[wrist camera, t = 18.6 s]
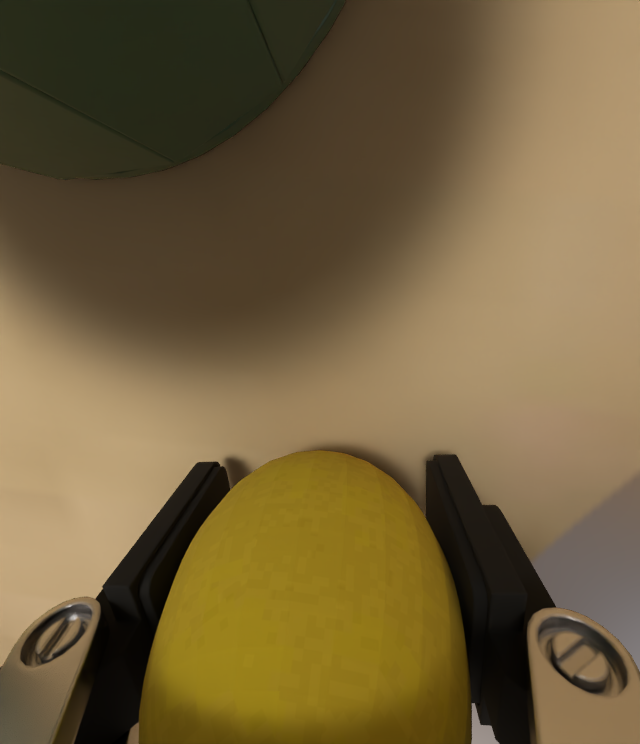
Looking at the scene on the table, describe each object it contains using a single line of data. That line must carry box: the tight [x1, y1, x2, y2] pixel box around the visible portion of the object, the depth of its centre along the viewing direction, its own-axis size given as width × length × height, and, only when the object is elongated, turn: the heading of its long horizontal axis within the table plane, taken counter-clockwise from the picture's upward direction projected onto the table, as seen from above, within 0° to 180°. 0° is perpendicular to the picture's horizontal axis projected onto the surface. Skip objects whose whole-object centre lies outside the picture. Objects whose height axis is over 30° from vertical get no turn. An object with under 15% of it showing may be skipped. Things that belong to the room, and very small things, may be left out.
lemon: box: [139, 450, 472, 744], centre depth 7 cm, size 6×6×8 cm
